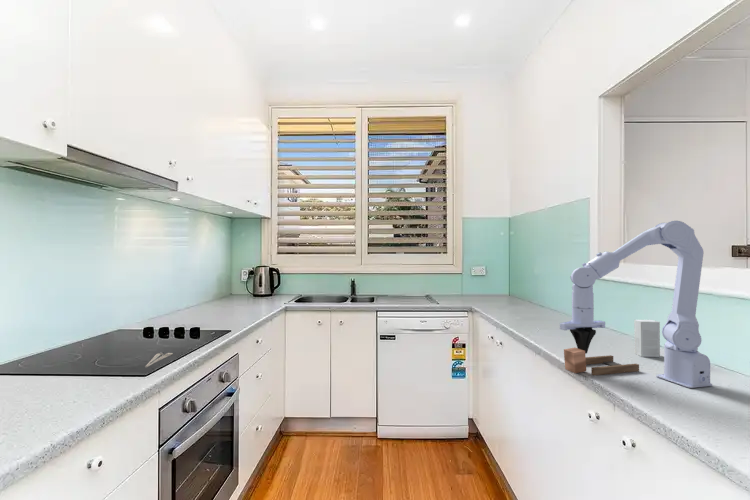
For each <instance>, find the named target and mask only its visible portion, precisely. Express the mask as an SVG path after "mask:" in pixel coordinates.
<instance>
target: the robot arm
mask: <svg viewBox="0 0 750 500" xmlns="http://www.w3.org/2000/svg"><path fill="white" fill-rule="evenodd" d="M653 245H662V246H663V247H666V248H668V249H670V250H671V251H672V252H673V253H674V254H675V255H676V256H677V257H678V258H677V259H678V260H677V264H676V265H677V267H676V275H675V283H674V289H673V298H672V304H671V305H672V307H671V311H670V313H669V314H668V316H667V319H666V323H665V324H664V325H663V327H662V328H661V334H662V336H663V338H664V339H665V340H666V341H665V343H664V345H663V346H664V348H663V349H664V353H663V355H664V357H663V358H664V359H663V362H664V364H663V365H664V366H663V367H664V368H663V374H662V373H660V374H656V375H655V376H656V378H660V379H662V380H665V381H669V382H670V383H671V382H672V383H673V384H677V385H680V386H683V387H685V388H688V389H693V388H703V387H712V386H713V383H711V360H710V358H709V357H708V356H707V355H706V354H704V353H701V352H700V351H699V349H698V348H699V347H700V346H701V344H702V341H703V339H702V336H701V334H700V332H699V329H700V328H699V327H700V324H699V322H698V319H697V317H696V313H697V308H698V307H697V306H698V299H699V290H700V284H701V276H702V267H703V261H704V259H703V258H704V248H703V246H702V245H701V243H700V241H699V240H698V238H697V237H696V234H695V228H692V227H691V226H689V224H687V223H685V222H683V221H682V220H671V221H668V222H661V223H658V224H656V225H655V226H653V227H651V228H648V229H646V230H644V231H642V232H640V233H639V234H638V235H636V236H634V237H633V238H632V239H630V240H629V241H626V242H625V243H624V244H623V245H621V246H619V247H618V248H617V249H615V250H614V251H604V252H598V253H596V254H595V255H596V256H595V257H593V258H592V259H591V260H589V261H588V262H585V261H584V262H583V263H581V266H582V267H581V266H580V267H577V268H575V269H573V270H572V273H570V274H571V275H570V277H569V278H570V280H571V282H572V287H571V289H572V291H571V319H570V320H569V321H563V322H559V330H562V331H569V332H570V334H571V335H572V337H573V339H574V341H575V345H576V348H578V349H581V350H584V351H585V355H587V354H588V351H589V347H590V345H591V343H592V340H593V338H594V337H595V335H596V334H597V330H596V329H598V328H601V329H606V321H604V320H594V319H595V318H594V317H595V316H594V309H595V308H594V302H595V301H594V284H595V283H596V280H600V279H601V278H603V277H605V276H607V275H608V274H611V272H613V271H615V270H616V269H618V268H619V267H620V262H621V261H622V260H624V259H626V258H628V257H629V256H631V255H633V254H635V253H637V252H638V251H641V250H642V249H643V248H646V247H648V246H653Z"/></svg>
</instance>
